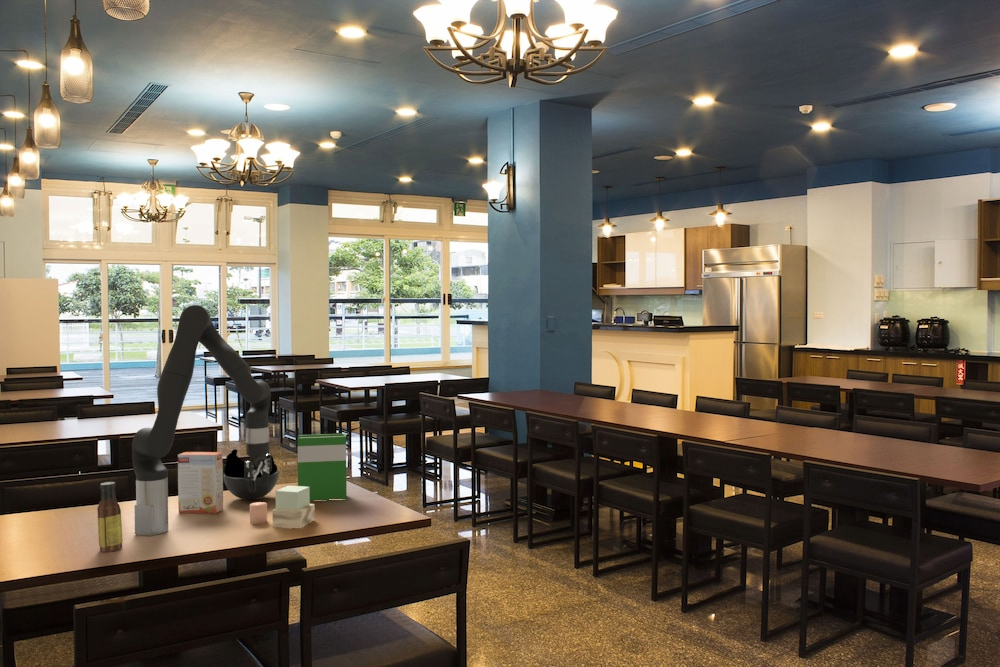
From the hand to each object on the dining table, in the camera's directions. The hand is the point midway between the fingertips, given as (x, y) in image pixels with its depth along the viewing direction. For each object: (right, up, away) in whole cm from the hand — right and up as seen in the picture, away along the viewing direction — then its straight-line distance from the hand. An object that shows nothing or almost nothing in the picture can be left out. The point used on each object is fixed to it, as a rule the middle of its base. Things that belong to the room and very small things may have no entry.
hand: (258, 488), depth 256 cm
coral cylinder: (0, -11, -1) cm, 11 cm away
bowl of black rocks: (-12, -11, +31) cm, 35 cm away
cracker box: (-25, -11, +13) cm, 30 cm away
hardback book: (+14, -11, +31) cm, 36 cm away
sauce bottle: (-34, -12, -31) cm, 48 cm away
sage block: (+12, -5, -3) cm, 14 cm away
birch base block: (+13, -11, -3) cm, 17 cm away
